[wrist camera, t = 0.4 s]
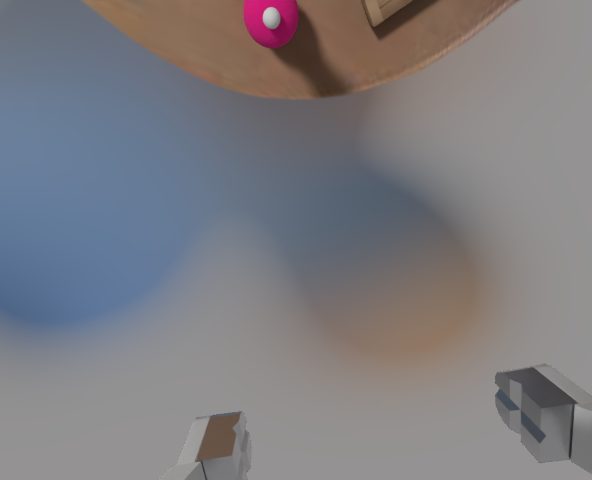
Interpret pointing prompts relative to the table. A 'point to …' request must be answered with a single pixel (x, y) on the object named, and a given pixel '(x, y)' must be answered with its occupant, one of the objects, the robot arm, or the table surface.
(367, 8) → the tray
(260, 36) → the pepper mill
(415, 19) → the table surface
